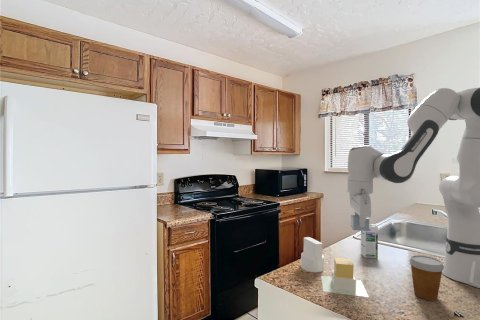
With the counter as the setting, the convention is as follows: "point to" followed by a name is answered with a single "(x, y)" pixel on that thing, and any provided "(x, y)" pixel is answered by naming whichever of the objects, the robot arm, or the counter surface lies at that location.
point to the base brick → (343, 283)
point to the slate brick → (356, 223)
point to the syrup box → (370, 242)
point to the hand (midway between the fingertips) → (359, 224)
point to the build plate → (329, 288)
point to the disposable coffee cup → (426, 276)
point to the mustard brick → (343, 267)
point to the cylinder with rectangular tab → (312, 255)
